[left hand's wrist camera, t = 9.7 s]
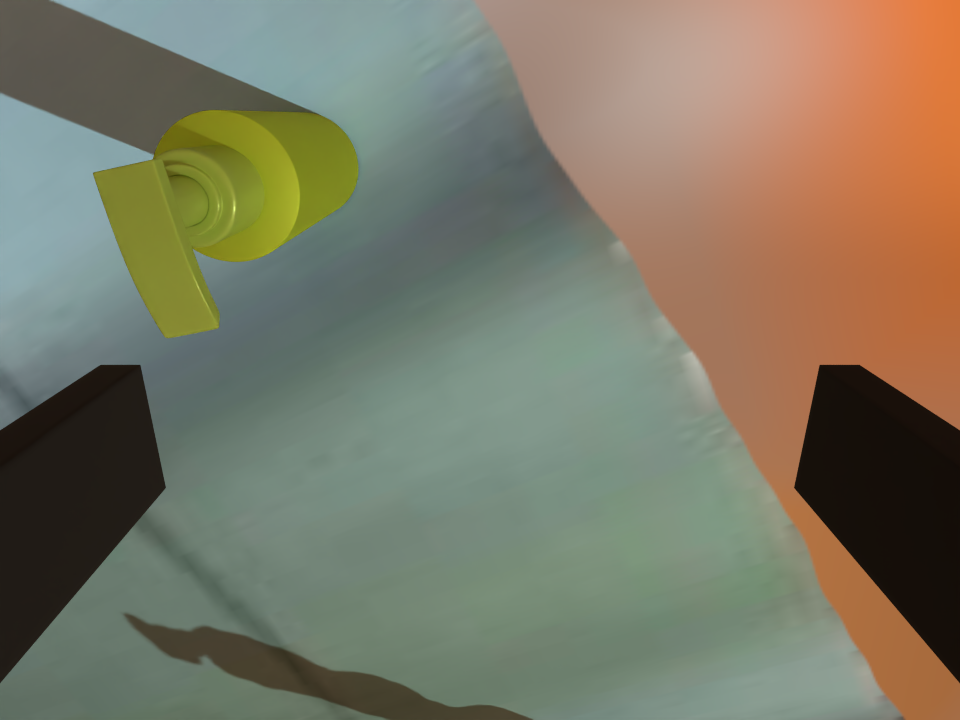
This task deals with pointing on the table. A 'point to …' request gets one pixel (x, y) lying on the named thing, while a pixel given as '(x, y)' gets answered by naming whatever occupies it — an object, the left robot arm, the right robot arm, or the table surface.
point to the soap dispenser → (221, 201)
